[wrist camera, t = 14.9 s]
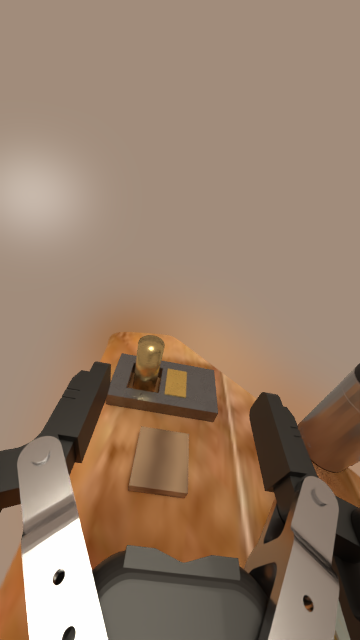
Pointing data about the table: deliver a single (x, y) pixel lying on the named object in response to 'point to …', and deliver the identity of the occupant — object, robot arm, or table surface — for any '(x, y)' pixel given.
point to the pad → (161, 463)
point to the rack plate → (167, 390)
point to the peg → (148, 363)
